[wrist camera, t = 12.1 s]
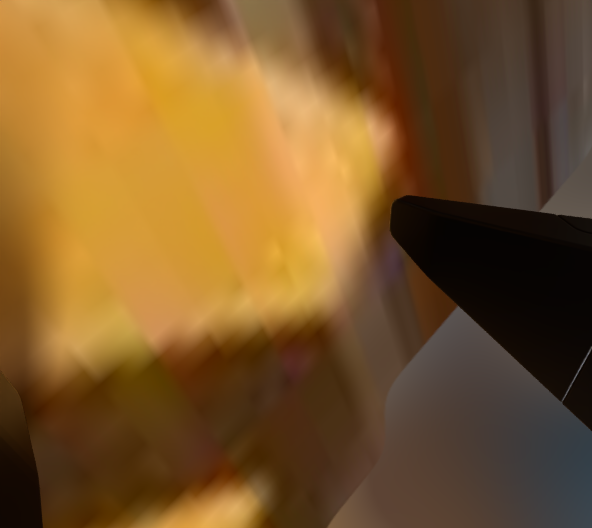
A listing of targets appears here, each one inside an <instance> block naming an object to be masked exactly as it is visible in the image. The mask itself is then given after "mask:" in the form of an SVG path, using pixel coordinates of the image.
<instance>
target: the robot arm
mask: <svg viewBox="0 0 592 528" xmlns="http://www.w3.org/2000/svg"><path fill="white" fill-rule="evenodd" d="M390 232H391V235H392V237H393V238H394V239H395V240H396V241H397V242H398V244H399V245H400V246H401V247H402V248H403V249H404V250H405V252H406V253H407V254H408V255H409V256H410V257H411V259H412V260H413V261H414V262H415V263H416V264H417V265H418V267H419V268H420V269H421V270H422V271H423V272H424V273H425V274H426V275H427V277H428V278H429V279H430V280H431V281H432V282H434V283H435V284H436V285H437V286H438V287H439V288H440V289H441V290H442V291H443V292H444V293H445V294H446V295H447V296H448V297H449V298H451V299H452V300H453V301H454V302H455V303H456V304H457V305H458V306H459V307H460V308H461V309H462V310H463V311H464V312H466V313H467V314H468V315H469V316H470V317H471V318H472V319H473V320H474V321H475V322H476V323H477V324H478V325H479V326H480V327H482V328H483V329H484V330H485V331H486V332H487V333H488V334H489V335H490V336H491V337H492V338H493V339H494V340H495V341H496V342H498V343H499V344H500V345H501V346H502V347H503V348H504V349H505V350H506V351H507V352H508V353H509V354H511V356H512V357H514V358H515V359H516V360H517V361H518V362H519V363H520V364H521V365H522V366H523V367H524V368H525V369H526V370H528V372H530V373H531V374H532V375H533V376H534V377H535V378H536V379H537V380H539V382H540V383H541V384H543V386H544V387H546V388H547V389H548V390H549V391H550V392H551V393H552V394H553V395H554V396H555V397H556V398H557V399H558V400H559V401H561V402H562V403H563V405H564V406H565V407H566V408H568V409H569V410H570V411H571V412H572V413H573V414H574V415H575V416H576V417H577V418H578V419H579V420H580V421H581V422H582V423H584V424H585V425H586V426H587V427H588V428H589V429H590V430H591V431H592V219H590V218H582V217H573V216H565V215H555V214H549V213H542V212H534V211H527V210H519V209H511V208H504V207H496V206H488V205H480V204H473V203H465V202H457V201H450V200H442V199H434V198H426V197H419V196H411V195H406V196H403V197H400V198H398V199H395V200H394V201H393V203H392V205H391V214H390ZM0 528H43V523H42V511H41V499H40V487H39V478H38V472H37V467H36V462H35V458H34V454H33V449H32V445H31V440H30V436H29V432H28V427H27V423H26V419H25V414H24V410H23V406H22V402H21V399H20V396H19V394H18V392H17V390H16V389H15V388H14V387H13V385H12V384H11V383H10V382H9V381H8V379H7V378H6V377H5V376H4V374H3V373H2V372H1V371H0Z"/></svg>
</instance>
